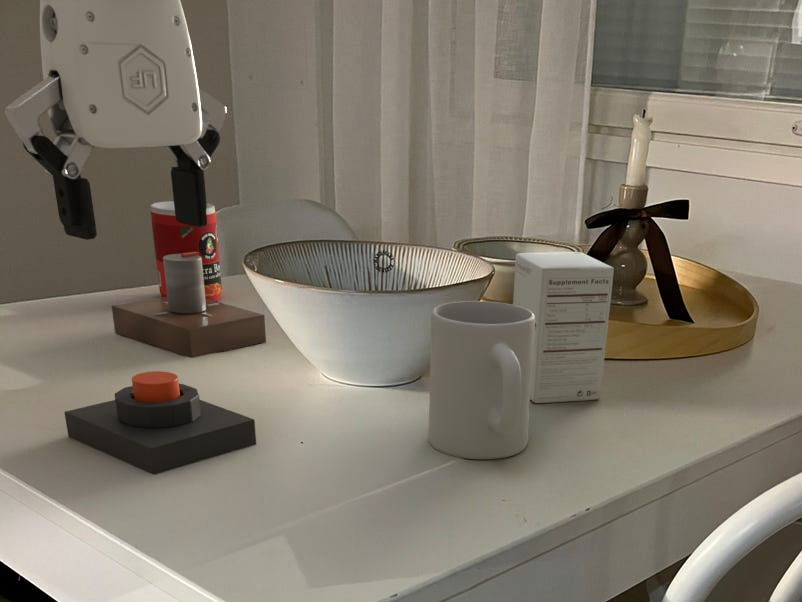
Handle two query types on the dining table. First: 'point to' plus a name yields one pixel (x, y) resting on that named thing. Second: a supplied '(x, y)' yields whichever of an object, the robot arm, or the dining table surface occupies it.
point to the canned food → (187, 245)
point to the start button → (155, 386)
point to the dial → (185, 283)
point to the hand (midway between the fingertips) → (138, 230)
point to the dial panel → (189, 326)
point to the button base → (160, 430)
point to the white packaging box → (565, 322)
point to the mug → (480, 378)
